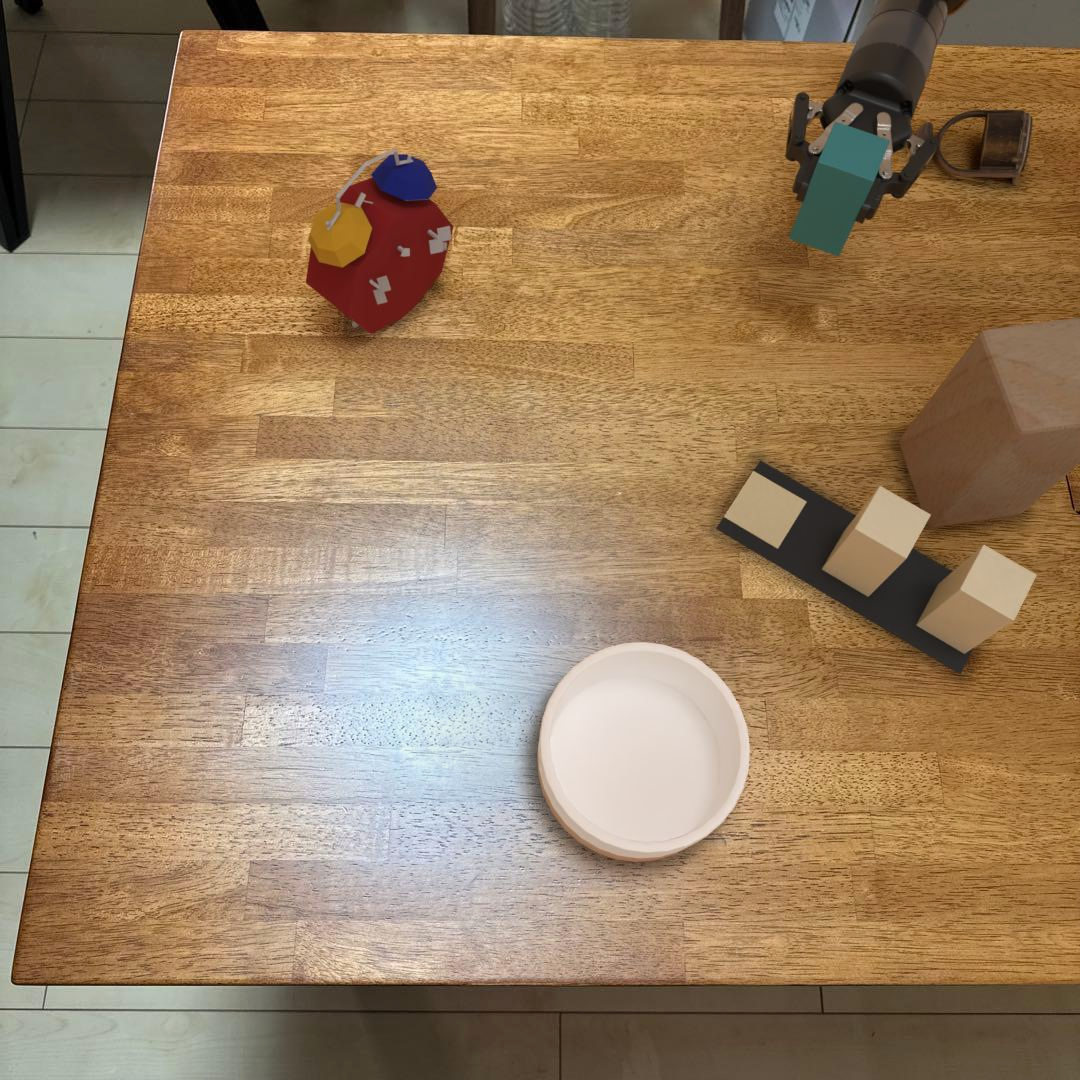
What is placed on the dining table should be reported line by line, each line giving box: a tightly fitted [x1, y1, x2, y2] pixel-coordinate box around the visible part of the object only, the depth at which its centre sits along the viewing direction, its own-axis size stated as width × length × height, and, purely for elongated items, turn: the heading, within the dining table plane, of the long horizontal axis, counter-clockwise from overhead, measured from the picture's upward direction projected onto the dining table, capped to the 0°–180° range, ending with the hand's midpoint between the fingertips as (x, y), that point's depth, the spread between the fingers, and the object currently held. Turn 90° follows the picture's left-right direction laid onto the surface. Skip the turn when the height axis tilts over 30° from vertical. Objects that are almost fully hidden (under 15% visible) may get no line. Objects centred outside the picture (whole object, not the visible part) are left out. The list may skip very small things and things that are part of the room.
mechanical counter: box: [914, 109, 1034, 186], centre depth 115 cm, size 7×13×10 cm
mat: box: [715, 460, 975, 675], centre depth 98 cm, size 26×9×1 cm, turn 57°
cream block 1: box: [822, 485, 931, 597], centre depth 93 cm, size 5×5×10 cm
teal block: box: [788, 122, 890, 257], centre depth 92 cm, size 5×5×10 cm
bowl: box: [536, 641, 751, 863], centre depth 86 cm, size 17×17×8 cm
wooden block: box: [898, 317, 1080, 528], centre depth 93 cm, size 10×10×20 cm
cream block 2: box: [916, 544, 1037, 654], centre depth 91 cm, size 5×5×10 cm
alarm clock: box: [305, 147, 454, 335], centre depth 99 cm, size 15×9×20 cm, turn 139°
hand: (831, 205), depth 90 cm, fingers closed on teal block, 5 cm apart
